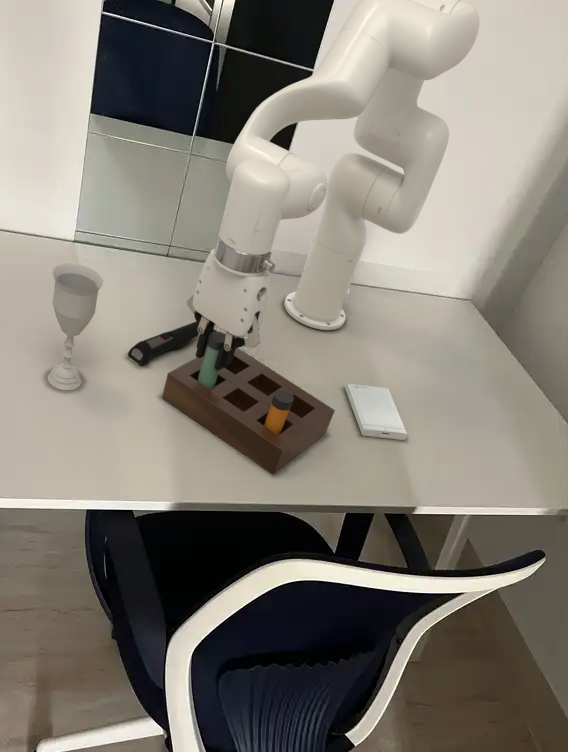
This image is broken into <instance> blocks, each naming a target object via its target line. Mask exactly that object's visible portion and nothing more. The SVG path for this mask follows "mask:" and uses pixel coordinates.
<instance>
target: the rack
mask: <svg viewBox="0 0 568 752" xmlns="http://www.w3.org/2000/svg"><path fill="white" fill-rule="evenodd" d="M203 358H204V356H203V357H201V358H197V357H194V358H192V359H191V360H189V361H188V362H185V363H184V364H182V365H179V366H178V367H176V368H175V369H173V370H171V371H169V372H167V375H166V379H165V384H164V388H163V392H162V396H161V399H162V400H164V401H166V402H167V403H168V404H170V405H171V406H173V407H174V408H176V409H177V410H179V411H180V412H181V413H182V414H184V415H186V416H187V417H188V418H190V419H192V420H193V421H194V422H196V423H197V424H199V425H200V426H202V427H203V428H205V430H208V431H209V432H210V433H212V434H213V435H215V436H216V437H218V438H219V439H221V440H222V441H223V442H224V443H226V444H228V445H229V446H231V447H232V448H233V449H235V450H237V452H240V454H242V455H244V456H245V457H246V458H248V459H249V460H251V461H252V462H254V463H256V464H257V465H258V466H260V467H261V468H263V469H264V470H265V471H267V472H268V473H270V474H271V475H275V474H276V473H277V472H279V471H280V470H281V469H283V468H284V467H285V466H286V465H288V464H289V463H290V462H291V461H293V460H294V459H296V458H297V457H298V456H299V455H301V454H302V453H303V452H304V451H306V450H307V449H308V448H309V447H310V446H312V445H313V444H314V443H316V442H317V441H318V440H319V439H320V438H322V437H323V436H324V435H326V433H327V431H328V428H329V426H330V424H331V421H332V419H333V417H334V414H335V412H336V409H334V408H332V407H331V406H329V405H328V404H326V403H325V402H323V401H322V400H320V399H318V398H317V397H315V396H314V395H312V394H310V393H309V392H307V391H306V390H304V389H303V388H302V387H300V386H298V385H297V384H295V383H294V382H292V381H291V380H289V379H287V378H285V376H283V375H281V374H280V373H278V372H277V371H275V370H273V369H272V368H270V367H268V366H267V365H266V364H264V363H262V362H260V361H259V360H258V359H256V358H254V357H253V356H251V355H249V354H248V353H247V352H245V351H243V350H242V349H240V347H239V348H236V349H235V353H234V356H233V360H232V363H231V364H230V365H229V366H227V367H224V368H222V369H221V370H219V372H218V376H217V379H216V383H215V386H214V388H212V389H208V388H207V387H205V386H204V385H202V384H201V383H199V382H198V381H197V380H198V377H199V373H200V369H201V365H202V362H203ZM278 390H284V391H287V392H289V393H290V394H292V396H293V397H294V400H293V403H292V406H291V408H290V409H289V412H288V415H287V417H286V420H285V423H284V425H283V428H282V431H281V434H280V435H277V434H276V433H274V432H273V431H271V430H270V429H268V428H267V427H265V426H264V424H265V421H266V418H267V415H268V412H269V409H270V407H271V404H272V399H273V396H274V393H275V392H276V391H278Z"/></svg>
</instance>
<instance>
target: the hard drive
mask: <svg viewBox="0 0 568 752" xmlns="http://www.w3.org/2000/svg"><path fill="white" fill-rule="evenodd" d="M344 390H345V392H346V396H347V398H348V401H349V404H350V407H351V409H352V412H353V414H354V417H355V420H356V422H357V423H356V424H357V426H358V428H359V431H360V434H361V436H363V437H373V438H380V439H381V438H382V439H388V440H389V439H390V440H398V441H405V440H407V438H408V436H409V434H408V432H407V429H406V427H405V424H404V421H403V419H402V417H401V414H400V412H399V409H398V408H397V405H396V403H395V400H394V398H393V396H392V393H391V392H390V389H389V388H387V387H381V386H374V385H373V386H372V385H364V384H356V383H347V384H346V385H345V388H344Z"/></svg>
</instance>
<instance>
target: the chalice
mask: <svg viewBox="0 0 568 752" xmlns="http://www.w3.org/2000/svg"><path fill="white" fill-rule="evenodd" d="M51 273H52V277H53V279H54V289H53V298H52V306H53V307H52V308H53V310H54V314H55V315H54V316H55V317H56V321H57V323H58V325H59V327H60V330H61V331H62V333H63V334H65V335H66V339H65V341H64V342H63V345H64V346H65V349H64V350H62V352H61V355H62V357H63V362H59V363H57V364H55V365H54V366H53V368H52V369H51V371H50V373H49V374H48V375H47V381H48V383H49V384H50V385H51V386H52V387H53V388H55V389H58V390H62V391H74V390H76V389H78V388H79V387H81V385H82V377H81V375H80V373H79V369H78V368H77V367H76V366H75V364H73V363H71V361H72V358H73V357H74V356H75V354H74V352H73V348H74V347H75V346H76V344H75V342H74V337H77V336H79V335H81V334H82V332H83V331H84V330H85V329H86V327H87V326H88V325H89V324H90V323H91V322H92V321H91V320H92V319H93V318H94V316H95V314H96V308H97V304H98V303H97V301H98V295H99V291H100V289H101V288H102V287H103V286H104V279H103V276H102V275H101V274H99V272H98V271H96V270H94V269H93V268H90V267H88V266H86V265H82V264H78V263H71V262H69V263H61V264H58V265H56V266H55V267H54V268H53V269H52V272H51Z"/></svg>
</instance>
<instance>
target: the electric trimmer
mask: <svg viewBox="0 0 568 752" xmlns="http://www.w3.org/2000/svg"><path fill="white" fill-rule="evenodd" d="M197 329H198V324H197V322H196V321H193V322H191V323H188V324H186V325H182V326H180V327H178V328H175V329H173V330H170V331H166V332H162V333H160V334H158V335H155V336H151V337H149V338H147V339H144V340H140V341H138V342H137V343H136V344H134V345H133V346H132V347H131V348H130V349H129V351H128V353H127V357H128V359H129V360H131V362H134V363H135V364H136V365H138V366H139V365H142V366H145V365H146V364H148V362H149V361H150V360H151V359H152V358H153V357H155V356H157V355H160V354H162V353H164V352H167V351H168V350H170V349H174V350H178V349H180V348H182V347H183V346H185V345H186V344H188V343H189V342H191V341H192V340H194V339H195V338H198V337H199V335H200V333H199V332H198V330H197Z"/></svg>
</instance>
